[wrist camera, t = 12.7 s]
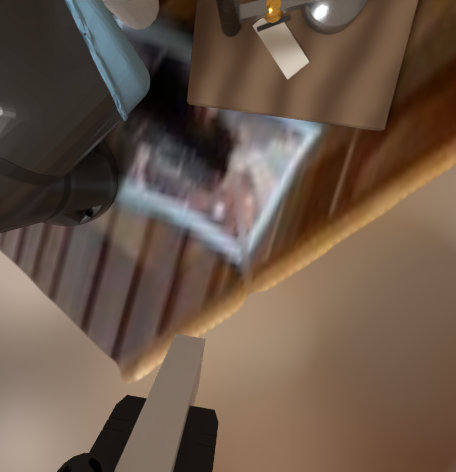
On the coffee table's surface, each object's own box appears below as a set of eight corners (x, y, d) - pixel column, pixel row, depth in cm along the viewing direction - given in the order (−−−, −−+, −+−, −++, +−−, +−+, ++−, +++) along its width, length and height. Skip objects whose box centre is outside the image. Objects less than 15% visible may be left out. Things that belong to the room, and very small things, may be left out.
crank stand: (189, 104, 39) (186, 101, 37) (207, -74, 34) (205, -87, 32) (379, 130, 38) (385, 129, 36) (425, -48, 33) (435, -61, 31)
